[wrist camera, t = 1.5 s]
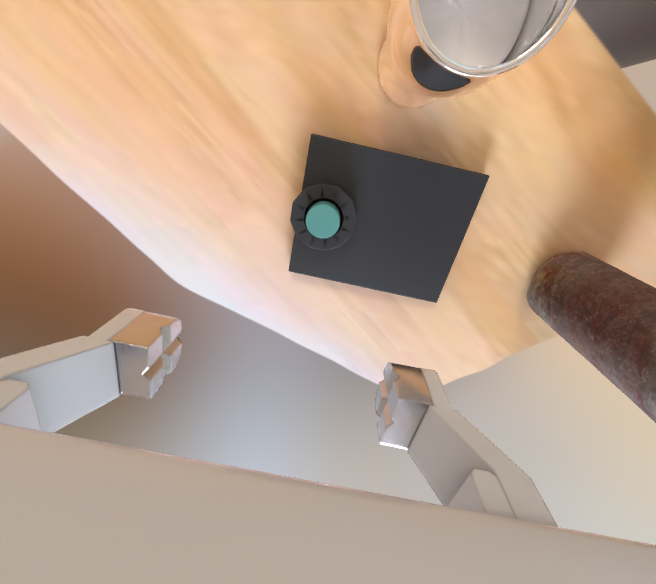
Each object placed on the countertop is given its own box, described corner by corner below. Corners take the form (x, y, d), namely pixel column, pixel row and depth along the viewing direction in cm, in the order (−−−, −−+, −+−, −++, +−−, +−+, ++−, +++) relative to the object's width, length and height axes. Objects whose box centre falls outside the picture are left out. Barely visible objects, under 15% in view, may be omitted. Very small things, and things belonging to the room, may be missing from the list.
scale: (483, 174, 28) (498, 177, 26) (433, 297, 34) (440, 310, 31) (307, 132, 27) (303, 131, 25) (286, 265, 33) (281, 276, 30)
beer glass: (469, 89, 25) (609, 27, 12) (389, 129, 27) (433, 114, 13) (446, -12, 23) (593, -238, 9) (359, 39, 24) (376, -91, 11)
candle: (568, 321, 34) (814, 518, 16) (507, 306, 34) (690, 491, 16) (612, 259, 31) (981, 419, 13) (545, 241, 31) (831, 381, 13)
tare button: (343, 204, 27) (343, 208, 26) (336, 237, 29) (335, 241, 27) (310, 197, 27) (308, 200, 26) (304, 230, 29) (302, 234, 27)
